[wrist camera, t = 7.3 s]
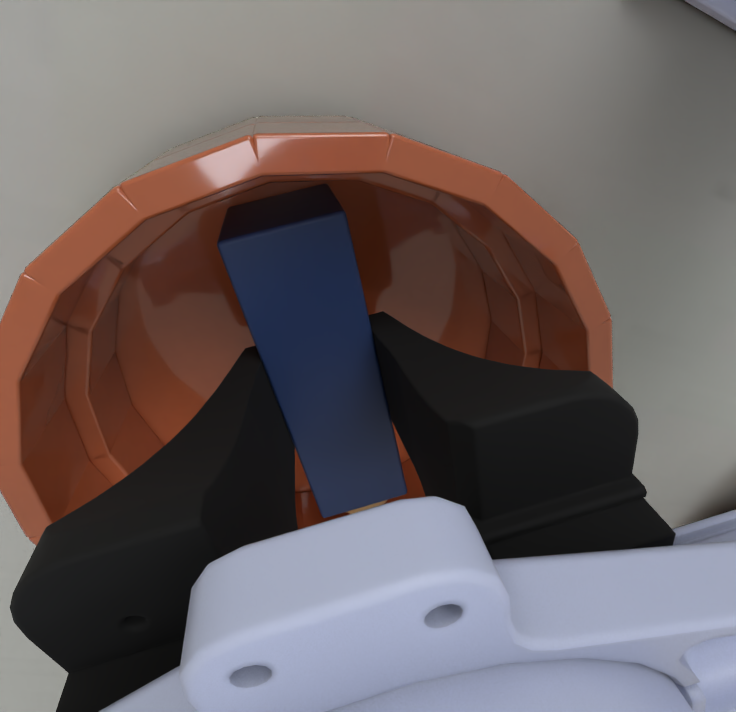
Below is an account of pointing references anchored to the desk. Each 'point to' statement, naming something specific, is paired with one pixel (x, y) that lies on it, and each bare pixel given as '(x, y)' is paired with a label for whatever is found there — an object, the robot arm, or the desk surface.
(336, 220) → the pencil
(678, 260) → the desk surface
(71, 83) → the desk surface
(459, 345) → the bowl
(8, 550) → the desk surface
